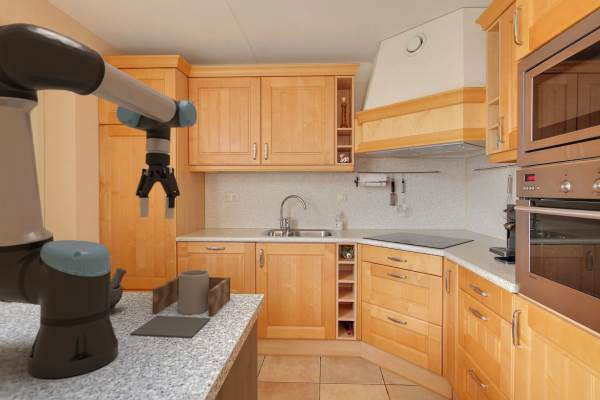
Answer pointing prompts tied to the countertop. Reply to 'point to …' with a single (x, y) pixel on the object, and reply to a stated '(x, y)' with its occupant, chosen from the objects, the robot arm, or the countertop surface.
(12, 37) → the robot arm
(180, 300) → the mug
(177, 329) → the mat
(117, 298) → the mortar and pestle
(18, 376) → the countertop surface
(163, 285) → the open-sided wooden frame
